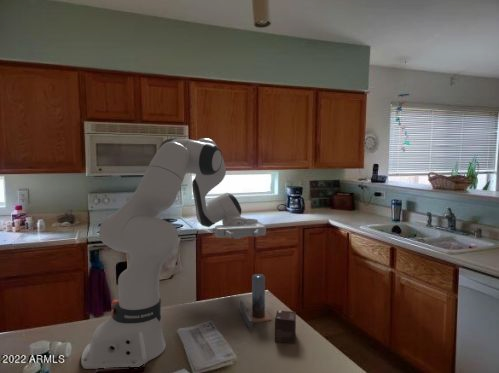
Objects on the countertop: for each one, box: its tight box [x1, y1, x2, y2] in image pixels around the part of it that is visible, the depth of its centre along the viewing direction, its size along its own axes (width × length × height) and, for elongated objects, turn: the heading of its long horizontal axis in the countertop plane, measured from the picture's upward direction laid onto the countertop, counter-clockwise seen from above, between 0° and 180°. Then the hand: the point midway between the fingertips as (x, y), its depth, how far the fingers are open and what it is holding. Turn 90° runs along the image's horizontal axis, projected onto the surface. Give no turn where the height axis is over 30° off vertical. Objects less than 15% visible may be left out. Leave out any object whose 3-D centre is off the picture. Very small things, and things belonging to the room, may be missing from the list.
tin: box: [251, 273, 266, 318], centre depth 121 cm, size 4×4×14 cm
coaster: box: [248, 309, 272, 323], centre depth 122 cm, size 7×7×1 cm
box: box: [274, 310, 297, 344], centre depth 108 cm, size 6×6×7 cm
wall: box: [239, 300, 254, 331], centre depth 120 cm, size 1×16×3 cm, turn 13°
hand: (244, 235), depth 131 cm, fingers open, 8 cm apart
